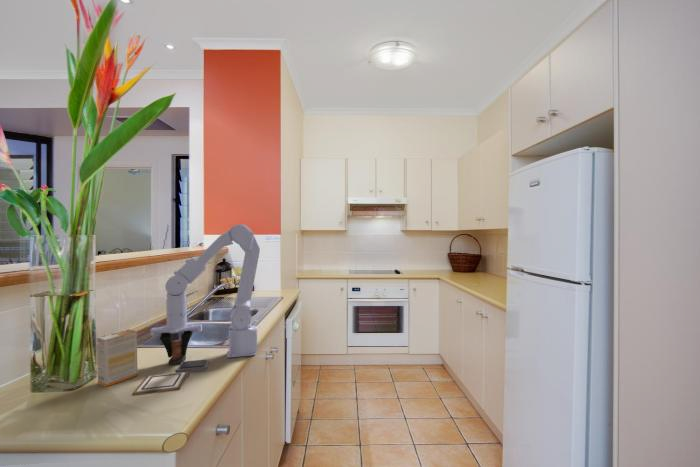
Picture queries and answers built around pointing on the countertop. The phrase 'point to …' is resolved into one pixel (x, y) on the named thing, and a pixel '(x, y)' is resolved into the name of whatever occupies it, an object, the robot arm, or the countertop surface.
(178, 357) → the stamp
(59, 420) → the countertop surface
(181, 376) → the board
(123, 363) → the supplement box
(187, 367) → the ink pad
